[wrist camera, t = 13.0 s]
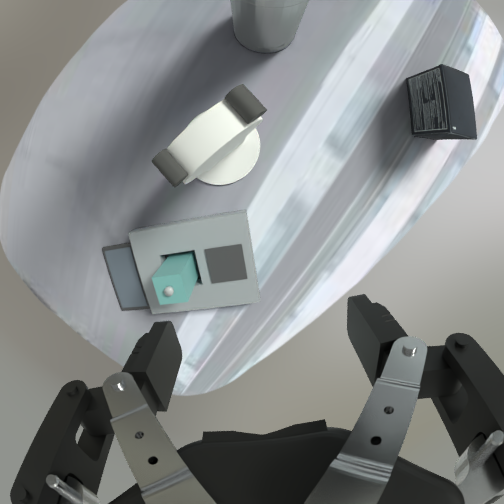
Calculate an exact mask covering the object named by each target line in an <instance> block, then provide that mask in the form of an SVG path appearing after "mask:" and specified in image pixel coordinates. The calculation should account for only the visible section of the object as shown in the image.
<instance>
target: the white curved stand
mask: <svg viewBox="0 0 504 504" xmlns="http://www.w3.org/2000/svg"><path fill="white" fill-rule="evenodd" d="M266 111H267V109H266V108H265V107H264V106H263V105H262V104H261V103H260V102H259V100H258V99H257V98H256V97H255V96H254V95H253V94H252V93H251V92H250V91H249V90H248V89H247V88H246V87H245V85H243V84H241V85H239V86H237V87H235V88H234V89H232V90H231V91H230V92H229V93H228V94H227V95H226V96H225V99H224V100H223V101H221V102H219V103H217V104H216V105H214V106H213V107H211V108H210V109H209V110H207V111H205V112H203V113H201V114H199V115H198V116H197V117H195V118H194V119H193V120H192V121H191V122H190V123H189V125H188V126H187V128H186V129H185V130H184V131H183V132H182V133H181V134H180V135H179V136H178V137H177V138H176V139H175V140H174V141H173V142H172V143H171V144H170V145H169V147H168V148H167V149H164V150H162V151H161V152H159V153H158V154H157V155H156V156H155V157H154V158H153V160H152V163H153V164H154V165H155V166H156V167H157V168H158V169H159V171H160V172H161V173H162V174H163V175H164V176H165V177H166V179H167V180H168V181H169V182H170V183H171V184H172V185H173V187H176V186H178V185H179V184H180V183H181V182H182V181H183V183H184V184H187V183H189V182H191V181H192V180H194V179H195V178H198V179H200V180H201V181H203V182H206V183H209V184H214V185H225V184H230V183H233V182H236V181H238V180H240V179H241V178H243V177H244V176H245V175H247V174H248V173H249V172H250V171H251V169H252V168H253V167H254V165H255V163H256V161H257V159H258V156H259V152H260V139H259V135H258V132H257V130H256V127H257V126H258V125H259V124H260V123H261V122H262V121H263V119H262V118H261V115H263V114H264V113H265V112H266Z"/></svg>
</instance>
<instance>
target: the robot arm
mask: <svg viewBox="0 0 504 504" xmlns="http://www.w3.org/2000/svg"><path fill="white" fill-rule="evenodd" d="M230 2H231V9H232V17H233V26H234V32H235V36H236V38H237V40H238V41H239V42H240V43H241V44H242V45H243V46H244V47H246V48H248V49H250V50H253V51H256V52H261V53H271V52H277V51H280V50H282V49H284V48H286V47H287V46H288V45H289V44H290V43H291V42H292V41H293V39H294V37H295V34H296V31H297V29H298V27H299V24H300V22H301V19H302V17H303V14H304V12H305V9H306V7H307V4H308V2H309V0H230ZM347 330H348V336H349V339H350V341H351V343H352V345H353V347H354V349H355V351H356V353H357V355H358V357H359V359H360V361H361V363H362V365H363V367H364V369H365V371H366V373H367V375H368V378H369V380H370V382H371V384H372V386H373V389H372V391H371V394H370V396H369V398H368V401H367V402H366V404H365V407H364V408H363V411H362V413H361V415H360V417H359V419H358V421H357V423H356V424H355V426H354V428H353V430H352V431H349V430H346V429H341V428H334V427H327V426H326V422H325V419H324V420H319V421H313V422H308V423H302V424H295V425H292V426H289V427H287V428H284V429H281V430H278V431H275V432H272V433H268V434H264V435H259V434H251V433H243V432H236V431H217V432H203V438H202V440H200V441H196V442H193V443H190V444H188V445H185V446H184V447H182V448H180V449H179V450H177V449H176V448H175V446H174V445H173V443H172V442H171V440H170V439H169V437H168V435H167V434H166V433H165V431H164V430H163V428H162V426H161V425H160V423H159V421H158V420H157V418H156V413H157V411H167V409H168V405H169V402H170V398H171V395H172V391H173V388H174V384H175V381H176V378H177V374H178V371H179V368H180V364H181V361H182V350H181V346H180V344H179V341H178V338H177V335H176V332H175V329H174V326H173V324H172V322H171V321H163V322H155V323H154V324H153V326H152V328H151V330H150V332H149V333H145V334H144V335H143V336H142V337H141V338H140V339H139V340H138V342H137V343H136V345H135V348H134V349H133V351H132V354H131V355H130V356H129V358H128V360H127V362H126V364H125V366H124V368H123V370H122V372H119V373H115V374H113V375H111V376H109V377H108V378H107V379H106V380H105V381H104V383H103V386H102V387H98V388H92V389H88V388H87V386H86V384H85V383H84V382H83V381H80V380H74V381H71V382H69V383H67V384H66V385H64V386H63V387H62V389H61V390H60V392H59V394H58V396H57V397H56V399H55V401H54V402H53V404H52V406H51V408H50V410H49V411H48V413H47V415H46V417H45V419H44V421H43V423H42V424H41V426H40V428H39V430H38V432H37V434H36V436H35V438H34V440H33V442H32V444H31V446H30V448H29V450H28V453H27V454H26V457H25V459H24V461H23V463H22V465H21V468H20V470H19V472H18V474H17V477H16V479H15V482H14V484H13V487H12V489H11V493H10V497H11V502H12V504H100V501H99V499H98V497H97V492H98V488H99V484H100V481H101V477H102V474H103V470H104V467H105V463H106V460H107V456H108V453H109V450H110V447H111V444H112V441H113V437H114V434H115V435H116V438H117V440H118V442H119V445H120V447H121V449H122V452H123V454H124V456H125V458H126V461H127V463H128V465H129V467H130V469H131V471H132V473H133V475H134V477H135V479H136V481H137V483H136V484H135V485H133V486H132V487H131V488H129V489H128V490H127V491H125V492H124V493H123V494H121V495H120V496H118V497H117V498H116V499H114V500H113V501H111V502H110V503H109V504H491V503H494V502H495V501H497V500H498V499H499V498H500V497H502V496H503V495H504V375H503V374H502V373H501V371H500V370H499V368H498V367H497V366H496V365H495V363H494V362H493V361H492V360H491V359H490V357H489V356H488V355H487V354H486V352H485V351H484V350H483V349H482V348H481V347H480V346H479V344H478V343H477V342H476V341H475V340H474V339H473V338H472V337H471V336H469V335H467V334H464V333H455V334H452V335H450V336H449V337H448V338H447V339H446V342H445V345H443V346H429V347H428V346H427V345H426V344H425V342H424V341H422V340H421V339H419V338H416V337H411V336H408V335H407V334H406V332H405V331H404V330H403V329H402V327H401V326H400V325H399V324H398V322H397V321H396V320H395V319H394V317H393V316H392V315H391V314H390V312H389V311H388V310H387V309H386V308H385V307H384V306H382V305H381V304H379V303H371V301H370V300H369V299H368V298H367V296H366V295H365V294H362V295H357V296H352V297H349V298H348V310H347ZM422 398H431V399H432V401H433V403H434V405H435V407H436V409H437V411H438V413H439V414H440V417H441V419H442V421H443V423H444V424H445V427H446V429H447V431H448V433H449V435H450V437H451V439H452V442H453V444H454V446H455V448H456V450H457V453H458V455H459V459H458V460H457V462H456V464H455V469H454V470H455V477H456V478H455V479H456V481H455V484H454V483H453V482H451V481H450V480H448V479H446V478H444V477H441V476H439V475H437V474H434V473H432V472H430V471H428V470H425V469H424V468H422V467H419V466H417V465H415V464H413V463H411V462H409V461H407V460H405V459H403V458H401V457H399V456H398V455H399V452H400V450H401V447H402V444H403V441H404V439H405V436H406V433H407V430H408V427H409V424H410V421H411V418H412V415H413V412H414V408H415V405H416V401H417V399H422ZM80 424H81V426H82V427H83V428H84V429H83V432H82V434H81V436H80V439H79V441H78V444H77V443H76V440H75V436H76V433H77V430H78V428H79V426H80Z"/></svg>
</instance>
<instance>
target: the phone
mask: <svg viewBox="0 0 504 504" xmlns="http://www.w3.org/2000/svg"><path fill="white" fill-rule="evenodd" d="M102 250H103V254H104V257H105V261H106V264H107V267H108V271H109V274H110V277H111V280H112V283H113V286H114V289H115V292H116V295H117V298H118V301H119V304H120V307H121V309H122V310H137V309H150V306H149V303H148V300H147V297H146V293H145V290H144V287H143V284H142V281H141V278H140V274H139V271H138V268H137V264H136V261H135V257H134V253H133V250H132V246H131V243H125V244H119V245H113V246H108V247H103V248H102Z"/></svg>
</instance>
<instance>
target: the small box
mask: <svg viewBox="0 0 504 504" xmlns="http://www.w3.org/2000/svg"><path fill="white" fill-rule="evenodd" d="M406 80H407V87H408V95H409V103H410V113H411V125H412V135H413V136H414V137H422V138H423V137H424V138H430V139H437V140H443V139H475V140H476V139H477V133H476V121H475V112H474V104H473V97H472V90H471V84H470V79H469V75H468V74H466V73H464V72H462V71H459V70H457V69H454V68H452V67H449V66H446V65H443V64H441V65H439V66H437V67H434V68H432V69H429V70H426V71H424V72H421V73H419V74H416V75H414V76H411V77H408V78H406Z"/></svg>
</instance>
